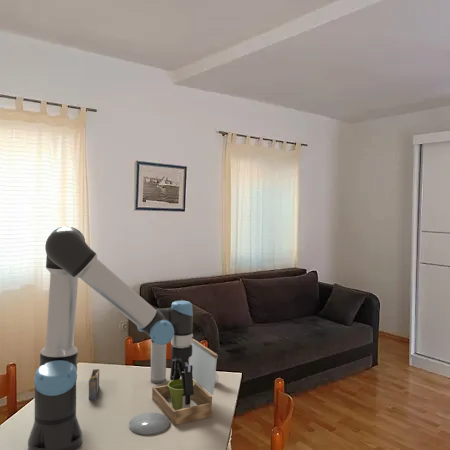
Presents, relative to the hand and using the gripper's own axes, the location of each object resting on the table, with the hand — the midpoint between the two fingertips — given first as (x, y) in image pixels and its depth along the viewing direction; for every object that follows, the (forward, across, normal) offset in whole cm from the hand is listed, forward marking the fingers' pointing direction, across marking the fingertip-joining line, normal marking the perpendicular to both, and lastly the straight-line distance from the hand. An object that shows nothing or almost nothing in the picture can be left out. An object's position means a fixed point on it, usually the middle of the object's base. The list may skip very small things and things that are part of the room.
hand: (181, 406), depth 157 cm
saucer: (0, -7, +14) cm, 16 cm away
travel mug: (0, +27, -1) cm, 27 cm away
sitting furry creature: (+1, +16, -19) cm, 25 cm away
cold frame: (0, 0, 0) cm, 0 cm away
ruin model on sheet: (+1, +26, +25) cm, 36 cm away
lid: (-14, 0, -7) cm, 16 cm away
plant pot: (0, 0, 0) cm, 0 cm away
